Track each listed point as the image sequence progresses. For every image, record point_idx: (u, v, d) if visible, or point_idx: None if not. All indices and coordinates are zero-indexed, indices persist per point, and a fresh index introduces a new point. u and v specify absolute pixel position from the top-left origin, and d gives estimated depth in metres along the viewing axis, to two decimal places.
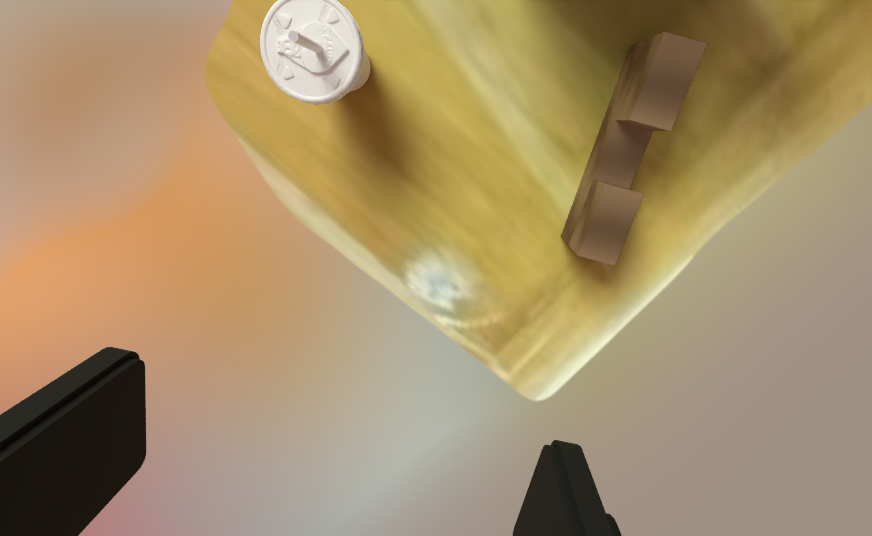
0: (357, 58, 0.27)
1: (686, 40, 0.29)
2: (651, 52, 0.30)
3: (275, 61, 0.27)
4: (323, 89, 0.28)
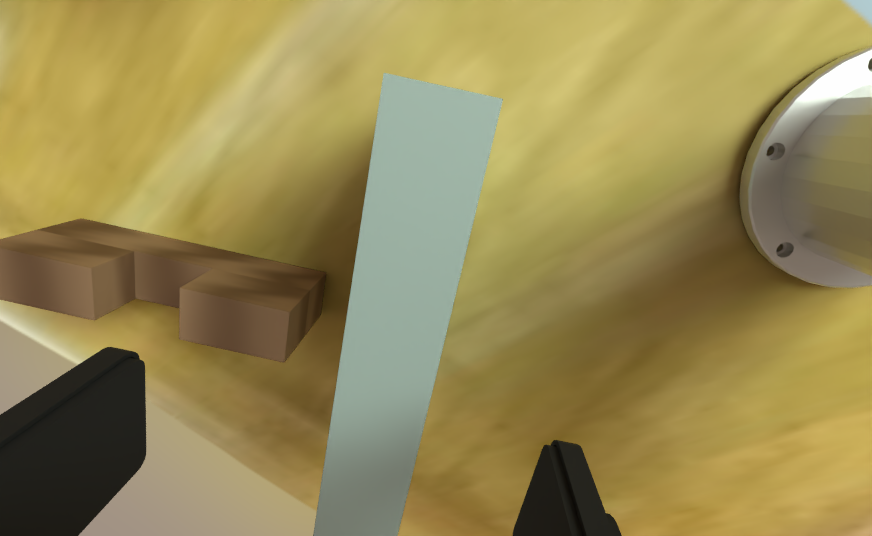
0: None
1: (283, 339, 0.23)
2: (273, 300, 0.23)
3: None
4: None
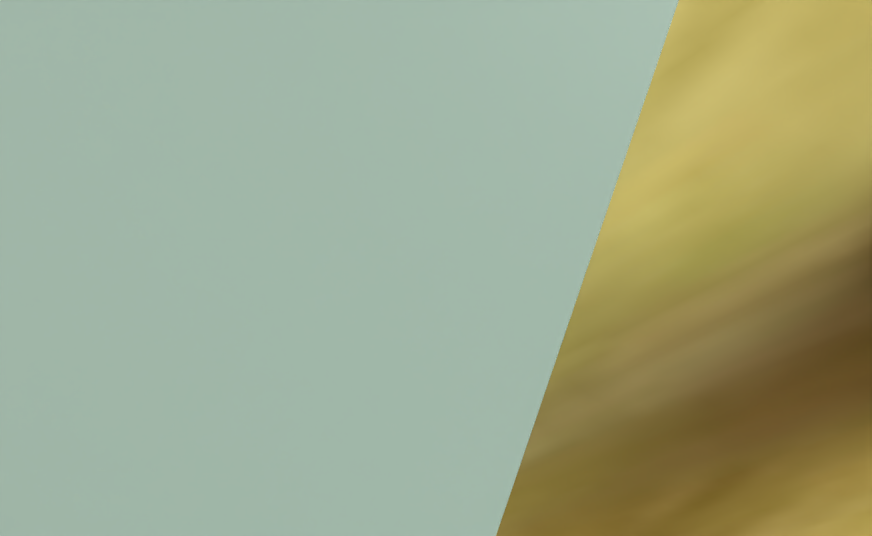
0: None
1: None
2: None
3: None
4: None
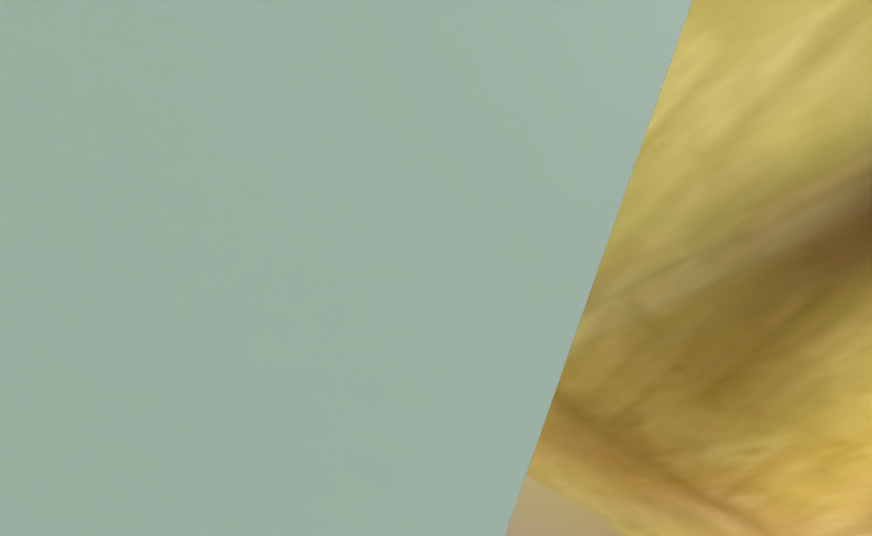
0: None
1: None
2: None
3: None
4: None
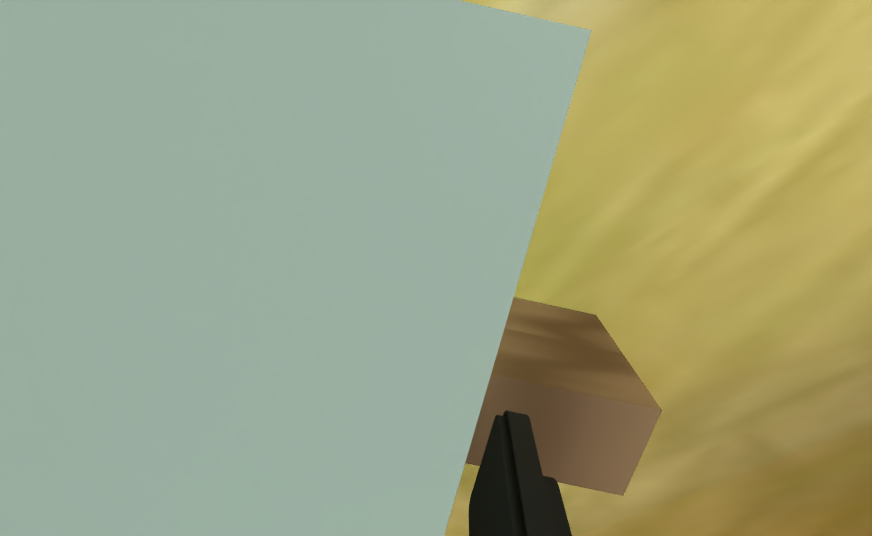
0: None
1: (634, 456, 0.12)
2: (608, 382, 0.12)
3: None
4: None
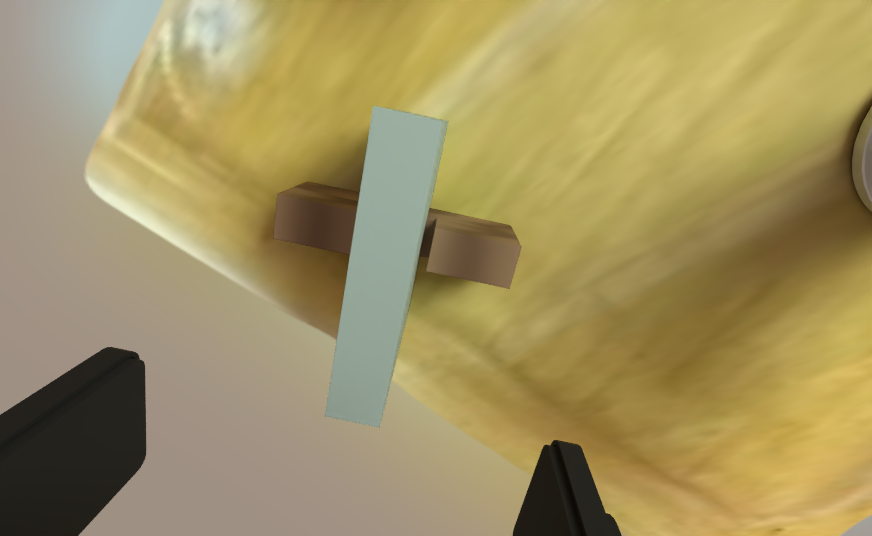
0: None
1: (512, 269, 0.29)
2: (502, 239, 0.29)
3: None
4: None
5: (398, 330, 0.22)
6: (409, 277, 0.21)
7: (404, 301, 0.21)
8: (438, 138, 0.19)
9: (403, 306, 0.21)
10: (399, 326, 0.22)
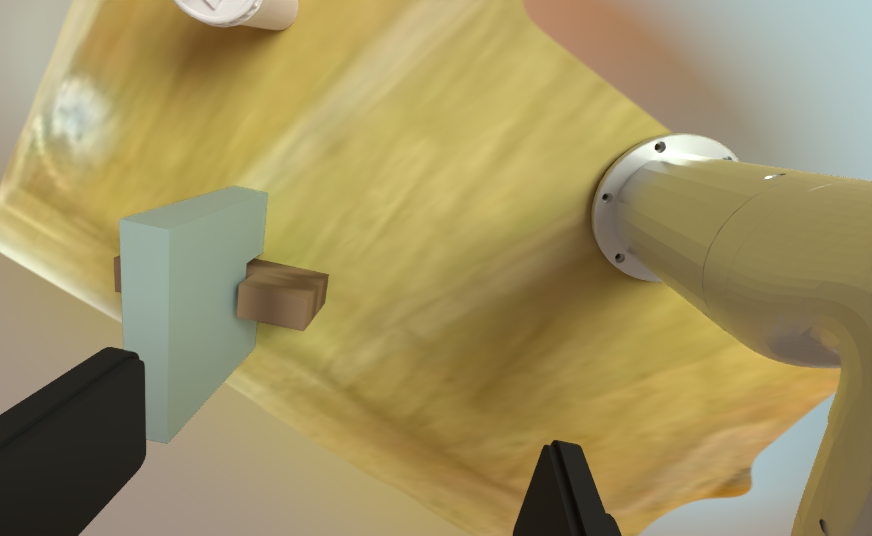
0: (210, 20, 0.26)
1: (303, 316, 0.36)
2: (297, 292, 0.36)
3: None
4: None
5: (167, 373, 0.29)
6: (167, 335, 0.28)
7: (167, 352, 0.29)
8: (168, 241, 0.26)
9: (167, 356, 0.29)
10: (167, 370, 0.29)
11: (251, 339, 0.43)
